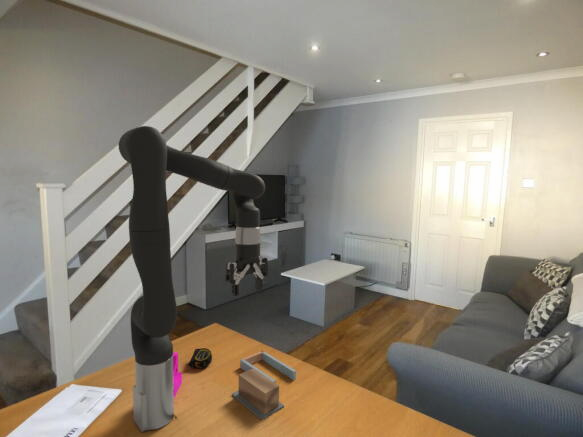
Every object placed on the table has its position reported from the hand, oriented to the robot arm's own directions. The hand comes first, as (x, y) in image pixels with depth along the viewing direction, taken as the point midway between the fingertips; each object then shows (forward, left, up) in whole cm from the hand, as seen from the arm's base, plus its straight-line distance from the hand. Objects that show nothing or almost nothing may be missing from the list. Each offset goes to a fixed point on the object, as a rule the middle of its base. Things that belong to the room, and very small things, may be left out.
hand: (247, 293), depth 106 cm
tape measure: (-7, +20, -28) cm, 35 cm away
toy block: (-20, +11, -29) cm, 37 cm away
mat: (-4, -11, -28) cm, 30 cm away
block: (-4, -11, -28) cm, 30 cm away
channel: (+7, -2, -28) cm, 29 cm away
